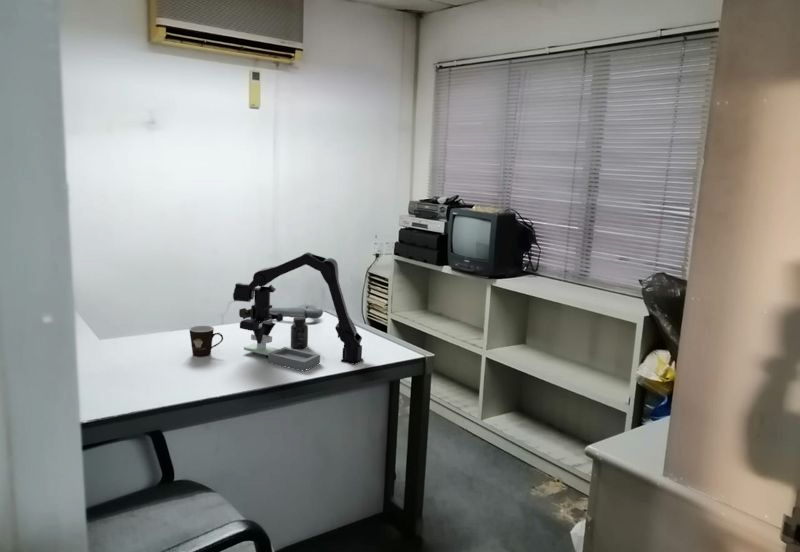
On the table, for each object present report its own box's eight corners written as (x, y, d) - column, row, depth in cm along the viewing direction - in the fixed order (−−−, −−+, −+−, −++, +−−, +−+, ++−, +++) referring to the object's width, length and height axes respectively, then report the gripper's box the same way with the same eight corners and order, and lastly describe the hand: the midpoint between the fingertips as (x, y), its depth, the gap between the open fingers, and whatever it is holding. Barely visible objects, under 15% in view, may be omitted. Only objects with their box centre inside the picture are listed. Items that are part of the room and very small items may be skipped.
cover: (279, 351, 230) (279, 336, 229) (269, 355, 225) (269, 340, 224) (254, 345, 235) (254, 330, 234) (243, 349, 230) (243, 334, 229)
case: (319, 363, 224) (320, 354, 223) (304, 371, 215) (304, 362, 214) (284, 355, 230) (284, 346, 230) (268, 362, 222) (268, 353, 221)
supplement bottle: (309, 345, 245) (310, 316, 243) (305, 350, 238) (306, 320, 236) (292, 343, 245) (293, 315, 243) (288, 348, 239) (288, 319, 237)
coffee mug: (184, 355, 224) (184, 329, 222) (201, 349, 232) (201, 324, 230) (207, 361, 219) (207, 334, 217) (224, 355, 227) (224, 329, 225)
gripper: (261, 295, 238) (260, 333, 241) (228, 303, 222) (228, 344, 225) (284, 299, 233) (283, 338, 236) (252, 308, 217) (251, 350, 220)
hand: (261, 342), depth 229 cm, fingers closed on cover, 2 cm apart
